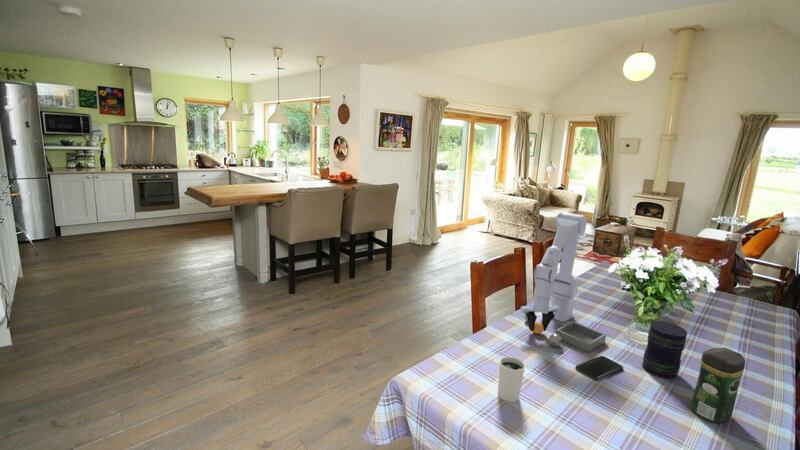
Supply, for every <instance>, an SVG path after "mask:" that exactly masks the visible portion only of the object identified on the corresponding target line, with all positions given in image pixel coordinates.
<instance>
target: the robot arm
mask: <svg viewBox="0 0 800 450" xmlns="http://www.w3.org/2000/svg"><path fill="white" fill-rule="evenodd" d="M587 221H588V220H587V217H586V215H585V214H577V213H570V212H565V211H560V212H558V213H557V216H556V219H555V226H556V234H555V235H554V239H553V242H552V245H551V246H549V247H547V249H546V251H545V253H544V255H543V257H542V259H541V262H540V263H539V264H536V266H535V269H534V271H533V277H534V281H533V282H534V284H535V285H534V291H533V298H532V300H533V301H532V304H529V305H523V306H522V305H521V306H520V312H521V313H522V314H525V313H526V316H527V319H528V329H529V331H531V332H533V331H534V325H535V322H537V318H538V316H537V315H536V313H541V315H542V316H541V317H542V318H541V324H542V325H543V327H544V330H543V332H546V331H547V328H548V326H549V325H550V324H551V322H552V320H556V321H559V322H561V323H564V322H567V321H568V320H570V319H572V318H574V317H575V314H574V315H573V312H574V305H575V300H574V299H575V298H576V296H577V294H578V283H579V282H578V280H577V279H576V277H575V276H574V275H573V268H574V263H575V260H576V259H575V258H576V253H577V247H578V244H579V243H578V242H579V239H580V236H584V235H585V233H586V227H587V223H588V222H587ZM559 263H560V265H559ZM558 266H559V267H558ZM550 301H551V302H550Z"/></svg>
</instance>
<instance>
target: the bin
mask: <svg viewBox="0 0 800 450" xmlns="http://www.w3.org/2000/svg"><path fill="white" fill-rule="evenodd" d="M554 334H558V335H559V336H561V338H562V343H563V342H564V343H566V344H568V345H570V346H572V347H574V348H576V349H579V350H581V351H583V352H585V353H587V354H589V353H591V352H593V351H594V350H596V349H597V348H599V347H600V346H602V345H603V344H605V343H606V340H607V334H606V333H603V332H601V331H598V330H595V329H594V328H591V327H589V326H585V325H583V324H582V323H579V322H576V321H574V320H573V321H571V322H569V323H566V324H565V325H563V326H561V327H559V328H557V329H555V333H554Z"/></svg>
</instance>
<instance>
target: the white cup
mask: <svg viewBox="0 0 800 450" xmlns="http://www.w3.org/2000/svg"><path fill="white" fill-rule="evenodd" d="M525 369H526V365H525V362H523V360H521V359H519V358H517V357H514V356H503V357H501V358H500V360H499V370H498V383H497V384H498V385H497V396H498V397H499V398H500V399H502V400H503V401H505V402H509V403H514V402H515V403H516V402H517V401H518V400H519V399H520V395H521V388H522V383H523V378H524V374H525Z"/></svg>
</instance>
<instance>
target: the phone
mask: <svg viewBox="0 0 800 450" xmlns="http://www.w3.org/2000/svg"><path fill="white" fill-rule="evenodd" d="M624 368H625V367H624V366H623V365H621V364H620V363H618V362H616V361H614V360H612V359H610V358H608V357H606V356H604V355H600V356H597V357H595V358H592V359H589V360H587V361H585V362H582V363H578V364H576V365H575V370H576V371H577V372H579V373H580V374H583V375H585V376H586V377H588V378H589V379H591V380H592V381H596V382H599V381H602V380H603V379H606V378H608V377H610V376H613V375H615V374H618V373H619V372H623V371H624Z"/></svg>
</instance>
